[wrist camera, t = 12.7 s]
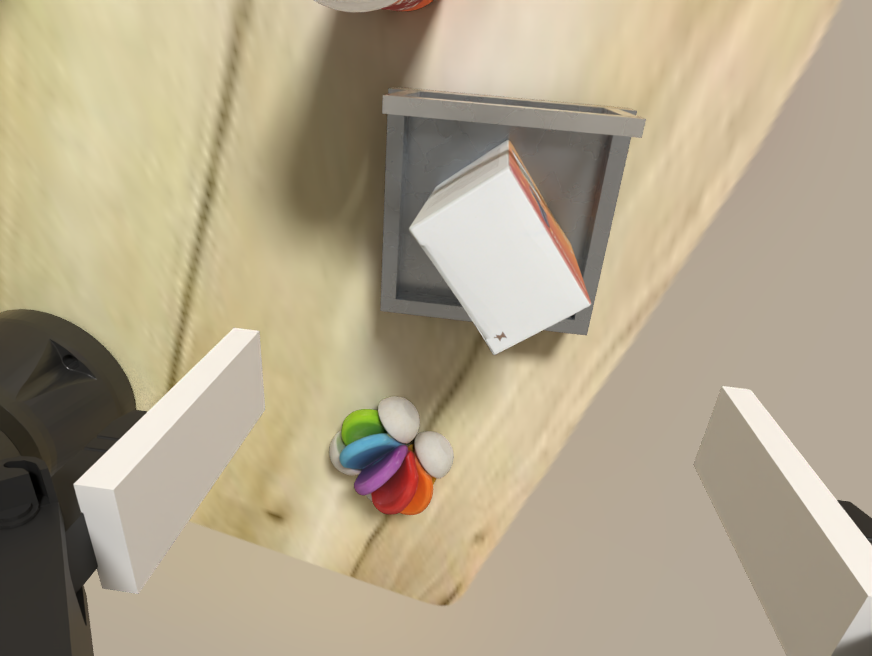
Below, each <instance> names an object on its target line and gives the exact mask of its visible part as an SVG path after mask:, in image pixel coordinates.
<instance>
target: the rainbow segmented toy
mask: <svg viewBox="0 0 872 656" xmlns="http://www.w3.org/2000/svg"><path fill="white" fill-rule="evenodd" d="M419 426H420V418H419V414H418V411H417V409H416V407H415V406H414V405H413V404H412V403H411V402H410V401H409V400H407V399H405V398H403V397H398V396H392V397H387V398H385V399H383V400H381V401H380V402H379V405H378V410H373V409H362V410H357V411H354V412H352V413H351V414H349V415H348V416H347V417H346V418H345V420H344V422H343V425H342V430H341V431H339V432H338V433H336V435H335V436H334V437H333V439H332V441H331V443H330V447H329V456H330V460H331V462H332V464H333V465H334V467H335V468H336V469H337V470H338V471H340V472H341V473H343V474H346V475H359V476H358V477H357V479H356V481H355V483H354V488H355V490H356V492H357V493H358V494H360V495H366V496H367V498H368V499H369V500H370V501H372V502H373V504H374V506H375V507H376V508H377V509H378V510H379V511H380V512H382V513H384V514H397V513H401V514H405V515H415V514H418V513H421V512H422V511H423V510H424V509H426V507H427V506H428V505H429V503H430V501H431V498H432V495H433V484H434V482H435V480H436V478H442V477H444V476H445V475H446V474H447V473H448V472H449V470H450V468H451V466H452V464H453V458H454V454H453V449H452V446H451V444H450V443H449V441H448V440H447V439H446V438H445V437H444V436H443V435H441V434H439V433H437V432H433V431H425V432H421V433H419V434H418V435H417V433H418V430H419ZM416 435H417V436H416ZM415 436H416V437H415ZM414 438H415V440H414V444H410V445H409V446H406V445H405V444H404V443H409V442H411V441H412V440H413V439H414Z"/></svg>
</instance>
